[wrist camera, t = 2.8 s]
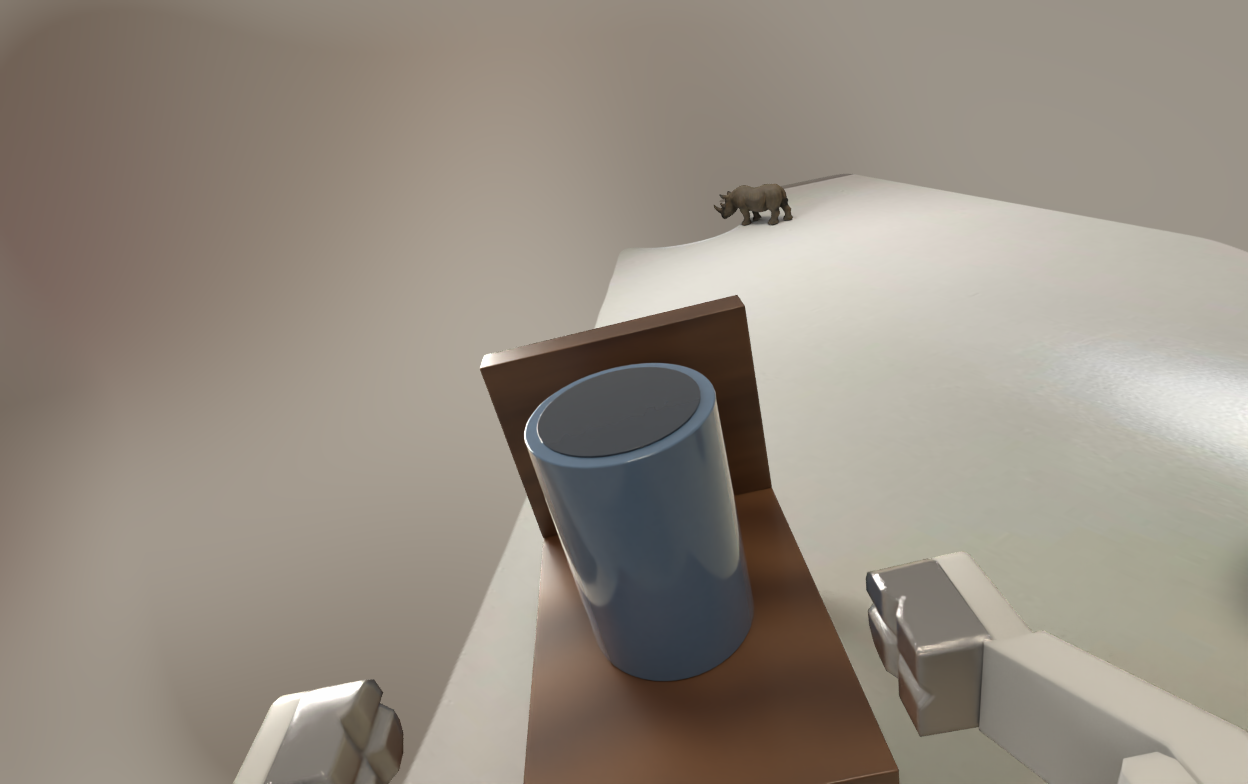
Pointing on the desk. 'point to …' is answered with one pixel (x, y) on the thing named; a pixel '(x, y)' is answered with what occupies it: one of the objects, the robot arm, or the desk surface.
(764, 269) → the desk surface
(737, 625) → the cup
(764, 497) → the miniature wooden chair
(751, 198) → the rhino figurine
